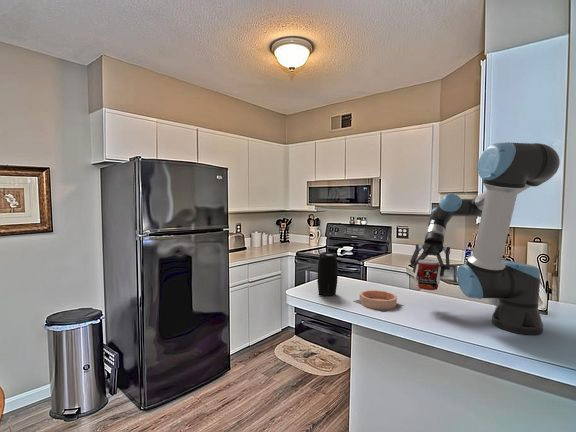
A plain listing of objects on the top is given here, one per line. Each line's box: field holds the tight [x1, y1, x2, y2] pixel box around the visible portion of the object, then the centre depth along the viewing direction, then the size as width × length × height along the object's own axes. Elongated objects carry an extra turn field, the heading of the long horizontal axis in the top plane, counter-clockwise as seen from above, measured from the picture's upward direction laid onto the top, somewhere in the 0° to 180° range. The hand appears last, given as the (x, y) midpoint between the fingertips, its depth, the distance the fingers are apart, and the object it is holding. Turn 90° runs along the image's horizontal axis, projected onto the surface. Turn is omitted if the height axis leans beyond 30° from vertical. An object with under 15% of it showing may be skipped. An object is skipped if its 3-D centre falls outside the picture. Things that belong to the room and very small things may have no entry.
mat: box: [352, 299, 404, 313], centre depth 140 cm, size 16×14×1 cm
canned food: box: [417, 259, 440, 291], centre depth 133 cm, size 8×8×11 cm
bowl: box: [359, 289, 398, 310], centre depth 140 cm, size 15×15×4 cm
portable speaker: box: [316, 251, 339, 298], centre depth 151 cm, size 9×9×20 cm
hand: (426, 280), depth 130 cm, fingers closed on canned food, 8 cm apart
